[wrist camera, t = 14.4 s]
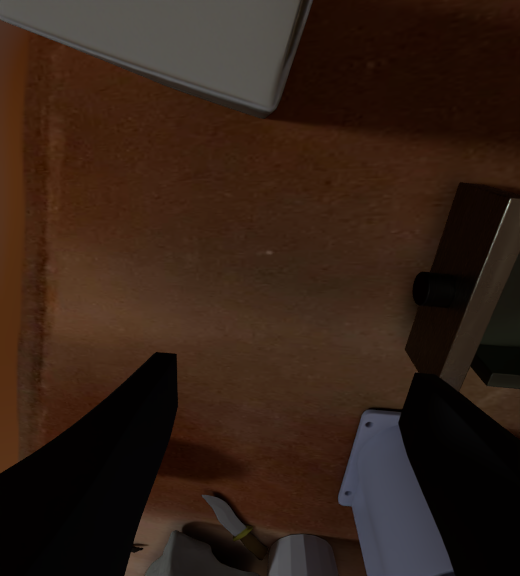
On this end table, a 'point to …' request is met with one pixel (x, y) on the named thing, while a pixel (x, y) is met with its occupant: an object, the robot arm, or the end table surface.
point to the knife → (236, 526)
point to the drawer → (472, 293)
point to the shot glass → (301, 557)
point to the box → (181, 42)
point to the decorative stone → (190, 560)
